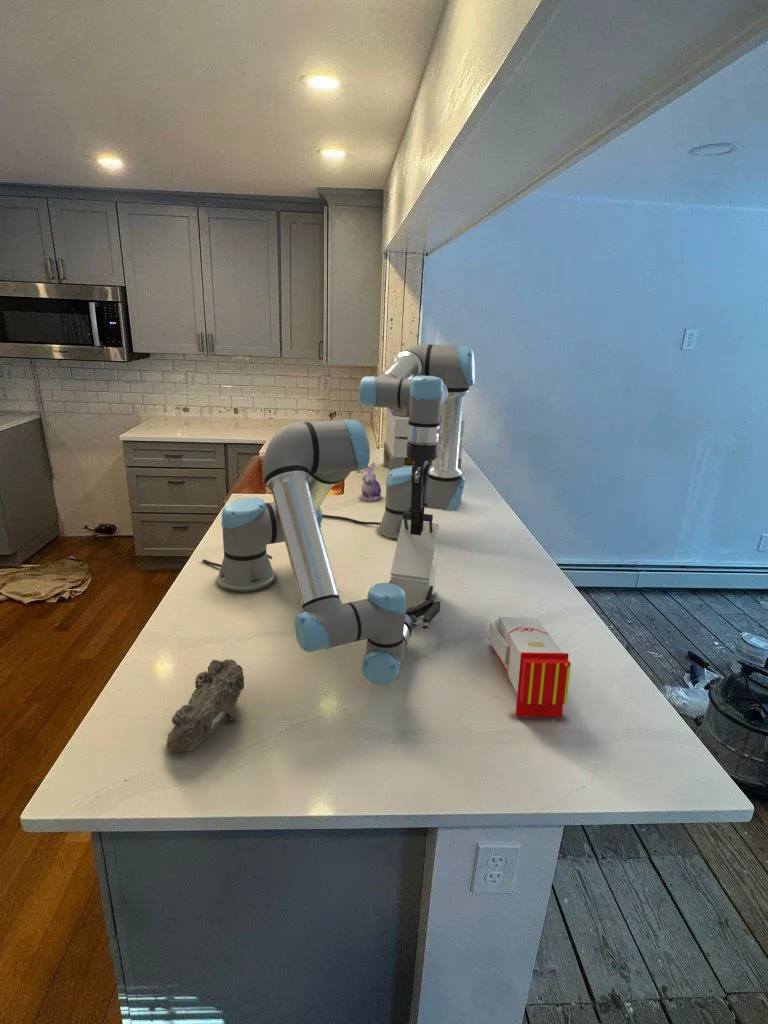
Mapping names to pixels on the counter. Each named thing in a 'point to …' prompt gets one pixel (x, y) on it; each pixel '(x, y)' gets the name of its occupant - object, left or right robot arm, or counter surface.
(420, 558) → the lid
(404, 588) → the white open box
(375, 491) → the figurine
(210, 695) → the fossil
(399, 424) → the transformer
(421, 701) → the counter surface
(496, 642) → the toy
